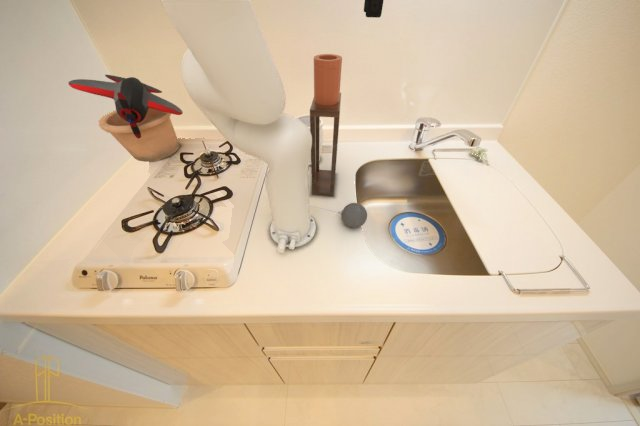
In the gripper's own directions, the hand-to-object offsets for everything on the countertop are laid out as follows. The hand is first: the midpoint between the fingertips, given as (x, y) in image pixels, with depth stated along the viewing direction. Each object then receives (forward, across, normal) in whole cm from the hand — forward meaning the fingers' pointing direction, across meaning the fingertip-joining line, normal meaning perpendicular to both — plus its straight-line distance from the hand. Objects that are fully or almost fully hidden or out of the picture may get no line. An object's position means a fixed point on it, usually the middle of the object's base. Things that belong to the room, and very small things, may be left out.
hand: (371, 14), depth 49 cm
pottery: (+42, -4, -78) cm, 89 cm away
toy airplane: (+15, -2, -69) cm, 71 cm away
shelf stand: (+42, +10, -9) cm, 44 cm away
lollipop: (+37, +26, -7) cm, 45 cm away
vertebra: (+41, -11, +48) cm, 65 cm away
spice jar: (+15, +10, -9) cm, 20 cm away
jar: (+42, -5, -16) cm, 46 cm away
